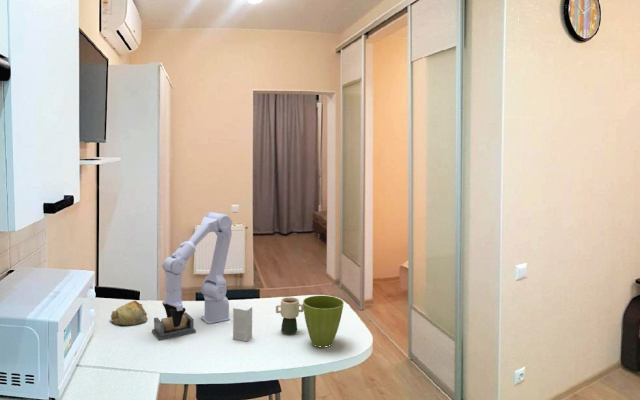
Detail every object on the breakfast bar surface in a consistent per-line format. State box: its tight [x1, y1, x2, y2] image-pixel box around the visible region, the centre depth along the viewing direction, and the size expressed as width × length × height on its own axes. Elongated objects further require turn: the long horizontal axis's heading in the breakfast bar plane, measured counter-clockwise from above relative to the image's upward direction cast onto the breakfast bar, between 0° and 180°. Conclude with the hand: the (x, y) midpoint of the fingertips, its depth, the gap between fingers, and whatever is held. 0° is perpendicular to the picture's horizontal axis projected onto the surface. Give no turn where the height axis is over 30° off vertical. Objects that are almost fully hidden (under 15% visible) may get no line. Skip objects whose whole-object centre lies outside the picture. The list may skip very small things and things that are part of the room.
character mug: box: [275, 296, 304, 335], centre depth 186 cm, size 11×7×13 cm, turn 102°
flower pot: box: [302, 295, 344, 348], centre depth 176 cm, size 15×15×16 cm
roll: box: [160, 315, 186, 332], centre depth 182 cm, size 8×5×5 cm, turn 125°
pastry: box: [110, 300, 149, 326], centre depth 192 cm, size 14×12×8 cm
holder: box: [151, 311, 197, 341], centre depth 182 cm, size 14×9×6 cm, turn 125°
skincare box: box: [232, 304, 253, 342], centre depth 179 cm, size 6×4×12 cm
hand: (173, 323), depth 182 cm, fingers open, 6 cm apart
